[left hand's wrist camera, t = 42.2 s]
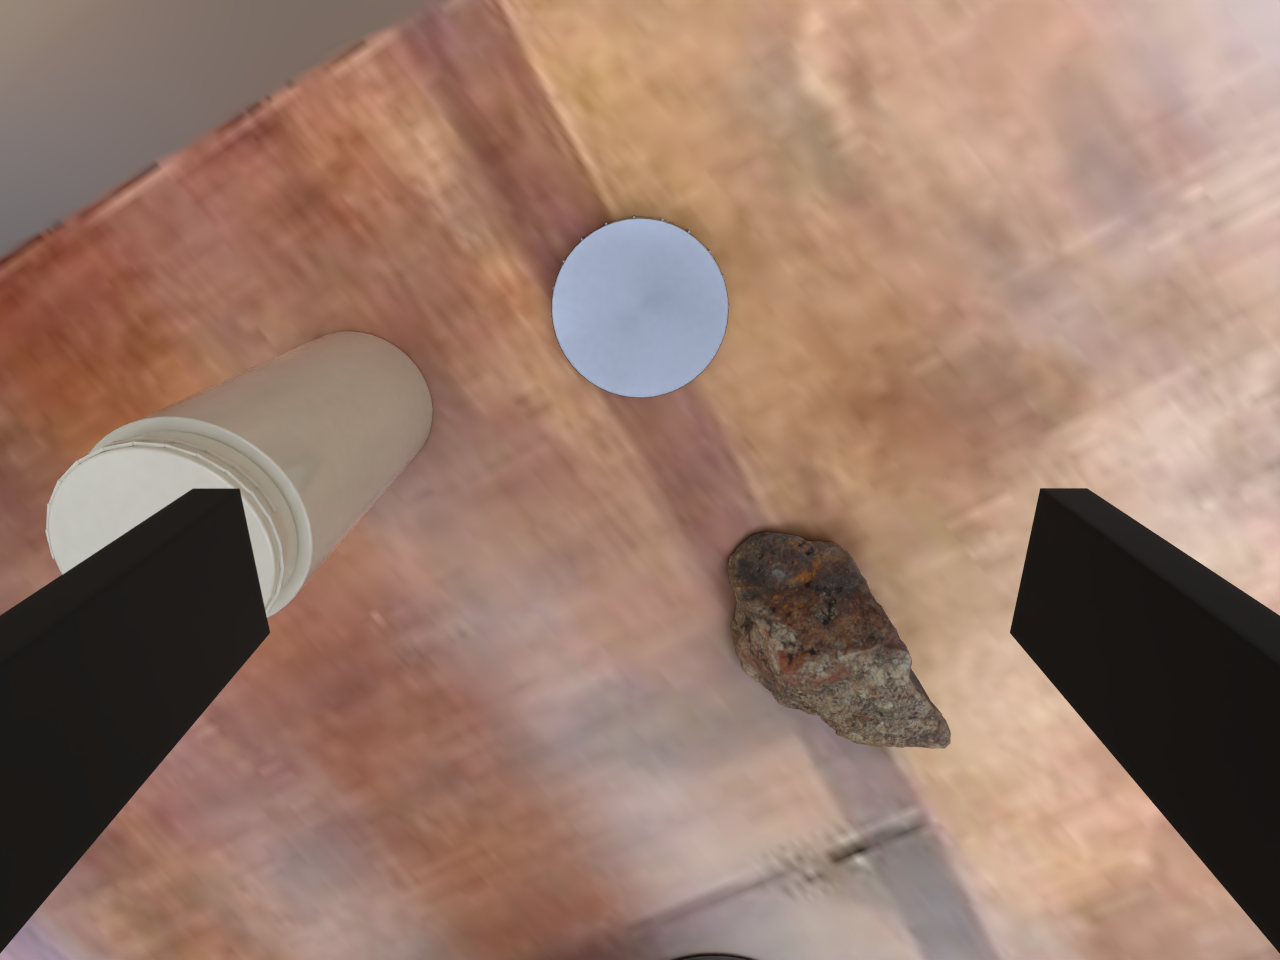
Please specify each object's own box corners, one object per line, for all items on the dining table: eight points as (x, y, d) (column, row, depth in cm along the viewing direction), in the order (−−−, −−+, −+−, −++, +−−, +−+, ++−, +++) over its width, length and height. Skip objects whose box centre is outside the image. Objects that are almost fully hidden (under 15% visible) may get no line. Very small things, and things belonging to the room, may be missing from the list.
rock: (860, 494, 44) (700, 543, 45) (906, 548, 36) (709, 607, 37) (915, 696, 48) (767, 737, 49) (969, 787, 40) (789, 834, 41)
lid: (522, 275, 39) (515, 279, 37) (671, 180, 37) (673, 179, 35) (612, 417, 42) (610, 428, 40) (754, 335, 40) (760, 343, 38)
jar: (430, 336, 40) (275, 443, 23) (435, 478, 43) (300, 665, 26) (277, 325, 40) (4, 425, 23) (292, 468, 43) (61, 651, 26)
